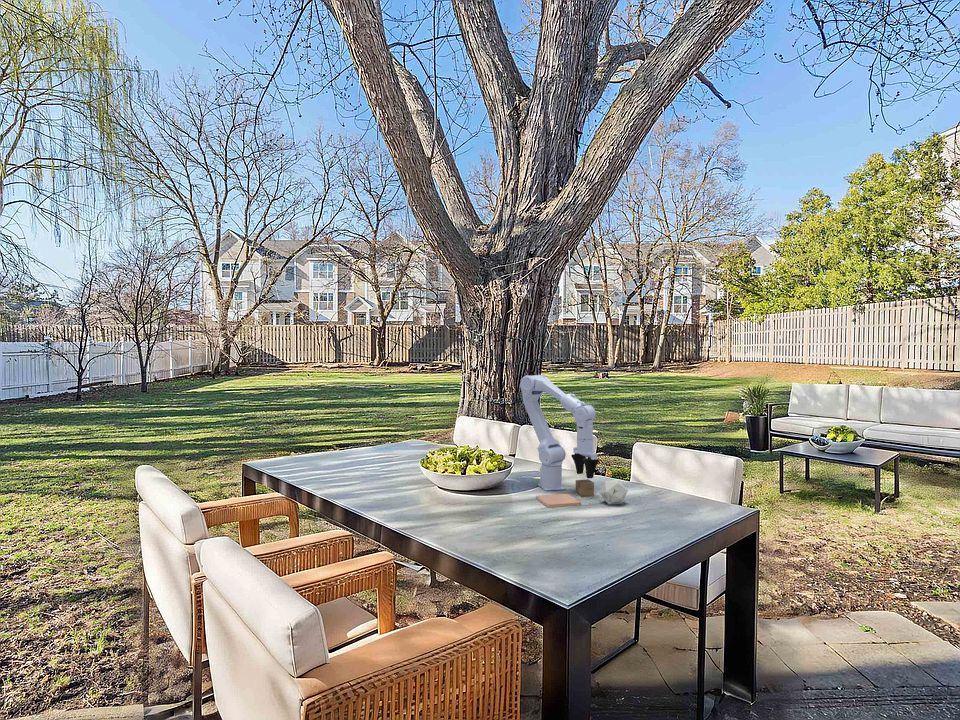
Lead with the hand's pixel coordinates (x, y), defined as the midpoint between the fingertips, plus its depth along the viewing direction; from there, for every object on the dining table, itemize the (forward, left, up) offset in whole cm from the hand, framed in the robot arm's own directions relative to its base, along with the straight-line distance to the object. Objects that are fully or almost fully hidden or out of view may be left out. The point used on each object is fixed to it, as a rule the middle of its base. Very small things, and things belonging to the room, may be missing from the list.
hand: (584, 475), depth 211 cm
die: (+13, +5, -7) cm, 16 cm away
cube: (0, 0, -7) cm, 7 cm away
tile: (+7, -13, -7) cm, 16 cm away
